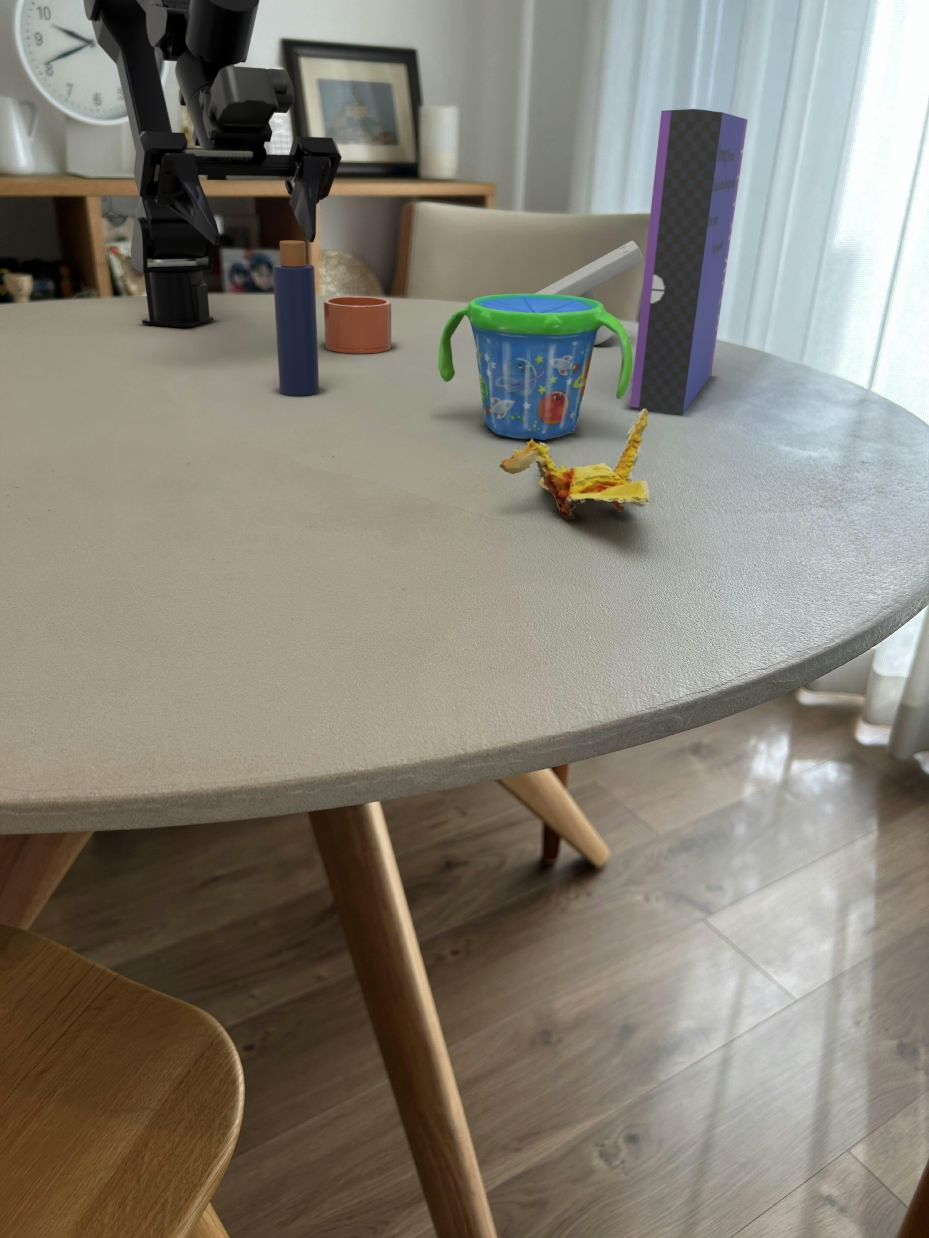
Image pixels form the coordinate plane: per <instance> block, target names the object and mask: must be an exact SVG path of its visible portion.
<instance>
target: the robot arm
mask: <svg viewBox="0 0 929 1238" xmlns="http://www.w3.org/2000/svg"><path fill="white" fill-rule="evenodd" d="M82 1H83V6H84V7H83V8H84V13H85V16H86V19H87V21H90V22H91V25H92V28H93V32H94V36H95V39H96V42H97V44H98V46H99V47H100V48H101V49H102V50H103V51H104V53H106V55H107V56H108V57H109V59H110V60H112V61H113V62H114V64H115V65H116V69H117V73H118V78H119V82H120V87H121V91H122V96H123V100H124V105H125V110H126V115H127V118H128V123H129V127H130V132H131V136H132V141H133V146H134V150H135V159H134V166H133V176H134V177H133V178H134V183H135V186H136V189H137V192H138V195H139V197H140V198H139V200H138V204H137V206H136V209H135V218H134V221H133V229H132V237H131V243H130V244H131V245H130V256H131V262H132V267H133V270H135V271H136V272H139V273H141V274H143V277H144V285H145V294H146V303H147V304H146V305H147V311H148V317H147V318H142V319H141V324H143V325H154V326H165V327H176V328H177V327H178V328H191V327H194V326H199V325H201V324H204V323H208V322H211V321H214V315H210V305H209V303H210V302H209V293H208V285H207V284H206V282H204V273H203V271H205V272H206V271H207V272H213V270H214V258H215V257H214V256H215V246H217V245H219V244H220V241H221V234H220V230H219V227H218V224H217V223H218V222H217V221H216V218H215V216H214V213H213V211H212V208H211V206H210V203H209V200H208V199H207V196H206V193H205V191H204V189H203V186H202V184H201V181H200V177H199V176H205V179H206V181H280V182H281V181H283V182H284V187H285V189H286V192H287V194H288V195H289V196H290V197H289V201H288V203H289V205H290V208H291V210H292V212H293V214H294V217H295V218H296V220H297V223H298V225H299V227H300V229H301V231H302V233H303V235H304V237H305V238H306V240H307V241H308V243H314V242H315V239H316V237H317V205H318V204H319V202H320V201H323V200H324V199H326V198H327V197H329V195H330V192H331V189H332V186H333V183H334V182H335V181H334V180H335V178H336V176H337V172H338V169H339V166H340V163H341V161H342V158H343V157H342V154H341V152H340V149H339V147H338V144H337V143H336V141H335V139H334V138H333V137H329V136H328V137H327V136H325V137H324V136H323V137H322V136H295V135H294V136H293V140H292V142H291V143H292V144H291V147H290V150H289V154H271V153H267V149H266V147H265V143H270V142H271V140H272V136H273V129H272V126H271V124H270V122H271V119H272V117H273V116H274V114H287V113H289V111H290V109H291V107H292V106H293V104H294V102H295V92H294V86H293V83H292V80H291V78H290V76H289V73H288V71H287V70H286V69H283V68H265V67H264V68H263V67H249V66H236V65H238V64H240V63H241V64H242V63H243V64H244V63H247V59H248V56H249V51H250V46H251V41H252V37H253V32H254V28H255V23H256V19H257V14H258V9H259V5H260V0H82ZM156 54H157V55H156ZM157 56H158V57H159V58H160V60H161V61H162V62H163V61H165V62H176V63H175V67H174V74H175V78H176V82H177V83H178V87H179V90H178V100H179V101H178V102H179V105H180V106H181V107H186V110H187V112H188V115H189V118H190V120H191V121H190V122H191V123H192V127H193V131H192V136H191V138H192V141H193V144H194V147H188V139H187V136H186V133H185V132H176V131H175V132H173V130H172V129H173V128H172V124H171V120H170V116H169V110H168V105H167V102H166V101H167V100H166V97H165V96H166V95H165V93H164V88H163V84H162V79H161V75H160V69H159V66H158V61H157ZM191 259H192V260H191ZM193 259H195V260H193ZM148 260H152V261H156V262H148ZM160 260H161V262H159V261H160ZM163 260H164V261H163ZM166 260H186V261H166ZM187 260H189V261H187ZM157 261H158V262H157Z"/></svg>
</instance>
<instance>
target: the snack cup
mask: <svg viewBox="0 0 929 1238" xmlns="http://www.w3.org/2000/svg"><path fill="white" fill-rule="evenodd" d="M465 316H466V317H467V318H468V321H469V323H470V328H471V331H472V335H473V339H474V343H475V348H476V361H477V362H476V363H477V369H478V374H479V376H478V379H479V387H480V388H479V389H480V395H481V401H482V402H481V403H482V411H483V417H484V421H485V424H486V426H487V427H488V428H489V429H490V430H491V431H492V432H493V433H495V434H496V435H498V436H503V437H507V438H512V439H517V440H518V439H519V440H531V439H532V438H533V440H541V441H546V440H549V439H555V438H560V437H563V436H566V435H568V434H571V433H574V432H575V430H576V427H577V425H578V420H579V417H580V409H581V405H582V401H583V397H584V395H585V390H586V386H587V381H588V376H589V372H590V367H591V362H592V356H593V352H594V347H595V345H594V343H595V340H596V335H597V331H598V329H599V328H600V327H601V326H606V327H607V328H608V329H610V330H611V331H613V332H614V333H615V335H617V337H618V341H619V347H620V351H621V357H622V358H621V363H620V365H621V366H620V372H619V378H618V384H617V385H618V386H617V390H616V393H615V397H616V399H617V400H621V399H622V398H623V396H624V395H625V393H626V391H627V389H628V386H629V383H630V381H631V375H632V371H633V351H632V345H631V339H630V336H629V334H628V332H627V330H626V327H624V325H623V324H622V323H621V321H619V320H618V318H617V317H615V316H614V315H612V314H611V313H609V312H607V310H606V309H605V307H604V305H603V303H601V302H600V301H598V300H597V301H595V300H592V299H587V298H582V297H575V296H566V295H554V294H535V293H503V294H501V293H500V294H491V295H483V296H479V297H476V298H474V299H472V300H471V301H469V303H468V305H467V306H465V307H463V308H461V309H459V310H458V311H456V312H455V313H454V314H452V315H451V317H450V318H449V319H448V320H447V322H446V324H445V326H444V328H443V331H442V334H441V338H440V343H439V348H438V370H439V375H440V378H441V379H442V380H443V381H444V382H446V383H447V382H450V381H451V380H453V378H454V377H455V373H456V371H455V368H454V361H453V351H452V337H453V335H454V333H455V332H456V330H457V328H458V327H459V326H460V323H461V322H462V320H463V319H464V317H465Z"/></svg>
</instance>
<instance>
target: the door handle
mask: <svg viewBox="0 0 929 1238" xmlns="http://www.w3.org/2000/svg"><path fill="white" fill-rule="evenodd" d="M643 257H644V256H643V254H642V252H641V249H640V247H639V246H638V245H637V243H636V242H635V241H634V240H630V241H628V242H627V243H624V244H623V245H621V246H619V247H618V248H615V249H614V250H612V251H610V252H609V253H606V254H605V255H603V256H601V257H599V258H597V259H596V260H594V261H592V262H590V263H588V264H586V265H584V266H583V267H581V268H579V269H577V270H575V271H574V272H572V273H570V274H568V275H566V276H564V277H562V278H561V279H559V280H557V281H555V282H553V283H552V284H550V285H548V286H546V287H544V288H542V289H541V290H539V291H537V292H535V293H534V294H554V295H566V296H575V297H582V298H587V299H592V300H595V301H598V299H597V296H596V295H595V292H594V289H595V288H596V287H599V286H600V285H602V284H604V283H606V282H608V281H610V280H612V279H613V278H616V277H617V276H619V275H621V274H623V273H625V272H626V271H628V270H631V269H632V268H634V267H636V266H638V265H640V264H642V263H644V258H643ZM614 335H616V333H614V332H613V331H611V330H610V329H608V328H607V327H606V326H601V327H600V328H599V329H598V331H597V335H596V340H595V343H594V346H597V345H601V344H603V343H605V342H607V341H608V340H610V339H611V338H612V337H614Z"/></svg>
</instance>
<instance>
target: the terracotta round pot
mask: <svg viewBox="0 0 929 1238" xmlns="http://www.w3.org/2000/svg"><path fill="white" fill-rule="evenodd" d="M323 317H324V344H325V348H326V349H327V350H328V351H330V352H331V351H332V352H336V353H342V354H354V355H356V354H357V355H358V354H359V355H361V354H362V355H363V354H364V355H365V354H367V355H368V354H376V353H377V354H378V353H383V352H388V351H390V350H391V349H392V301H391V300H389V299H386V298H381V297H376V296H375V297H374V296H358V295H357V296H355V295H354V296H352V295H351V296H349V295H348V296H336V297H329V298H325V299H323Z"/></svg>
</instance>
